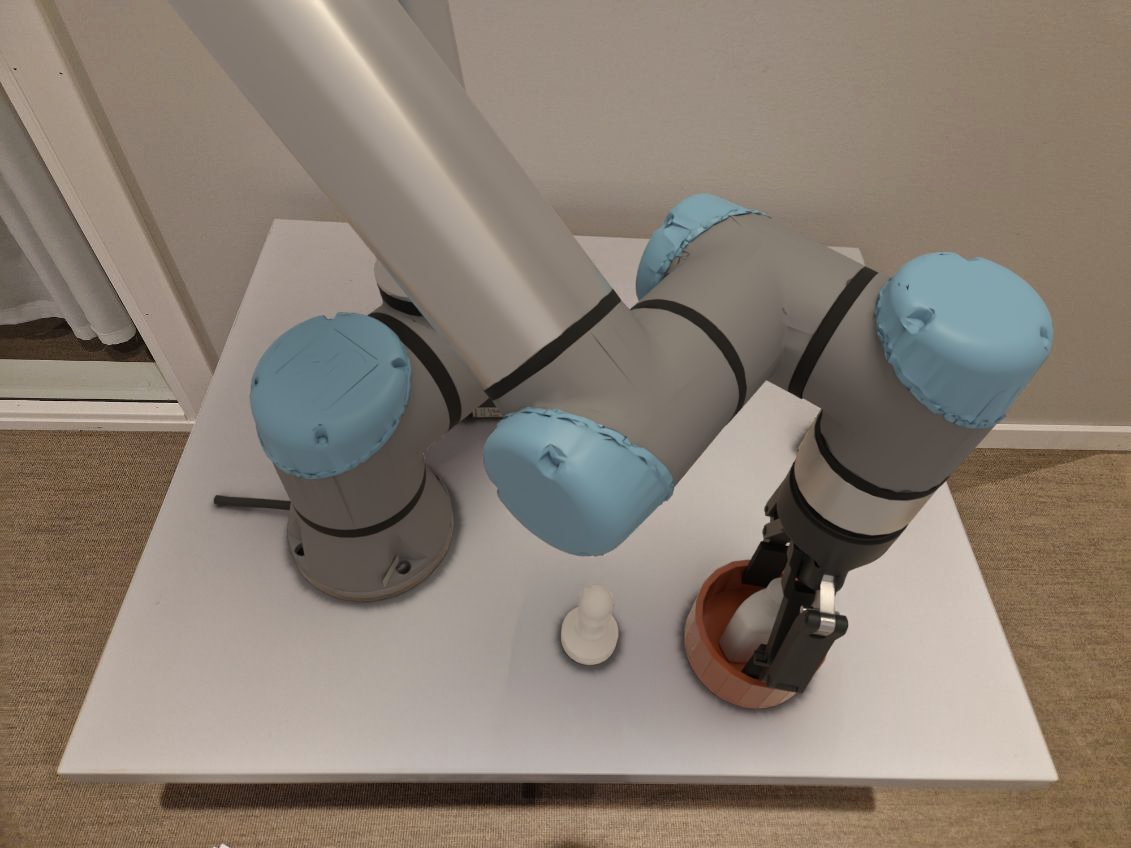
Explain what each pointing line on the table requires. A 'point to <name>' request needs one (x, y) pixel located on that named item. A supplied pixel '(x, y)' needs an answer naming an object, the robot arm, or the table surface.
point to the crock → (705, 630)
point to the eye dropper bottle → (752, 623)
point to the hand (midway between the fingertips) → (756, 628)
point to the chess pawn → (590, 627)
